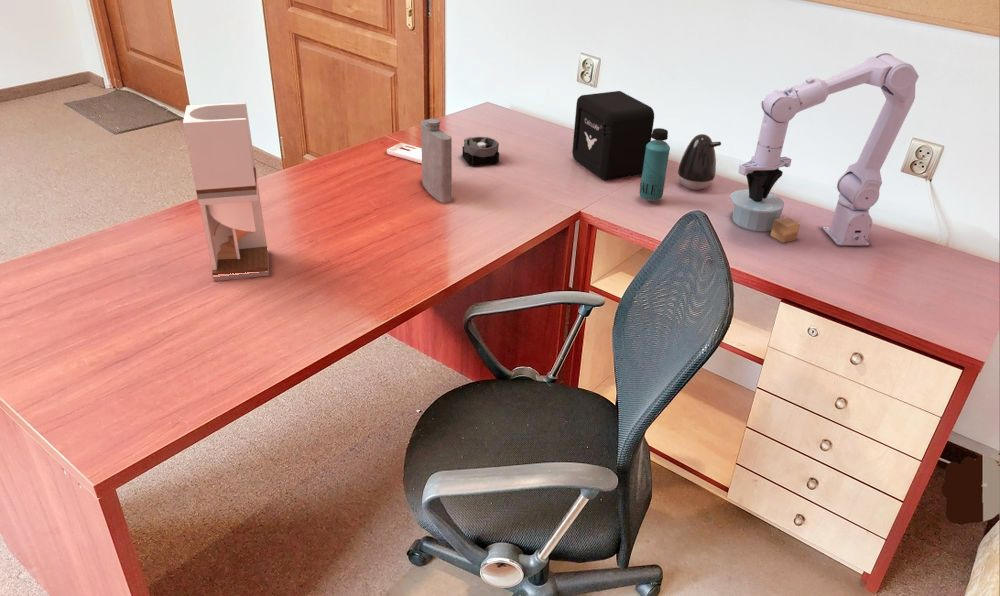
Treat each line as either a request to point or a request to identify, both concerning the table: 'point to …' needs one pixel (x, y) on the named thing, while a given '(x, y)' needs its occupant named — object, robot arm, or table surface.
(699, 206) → the table surface
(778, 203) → the lid
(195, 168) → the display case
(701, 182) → the pump dispenser
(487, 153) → the cpu cooler
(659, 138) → the beverage bottle
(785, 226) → the block
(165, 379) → the table surface
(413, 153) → the phone case
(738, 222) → the tin
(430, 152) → the hip flask
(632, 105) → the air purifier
